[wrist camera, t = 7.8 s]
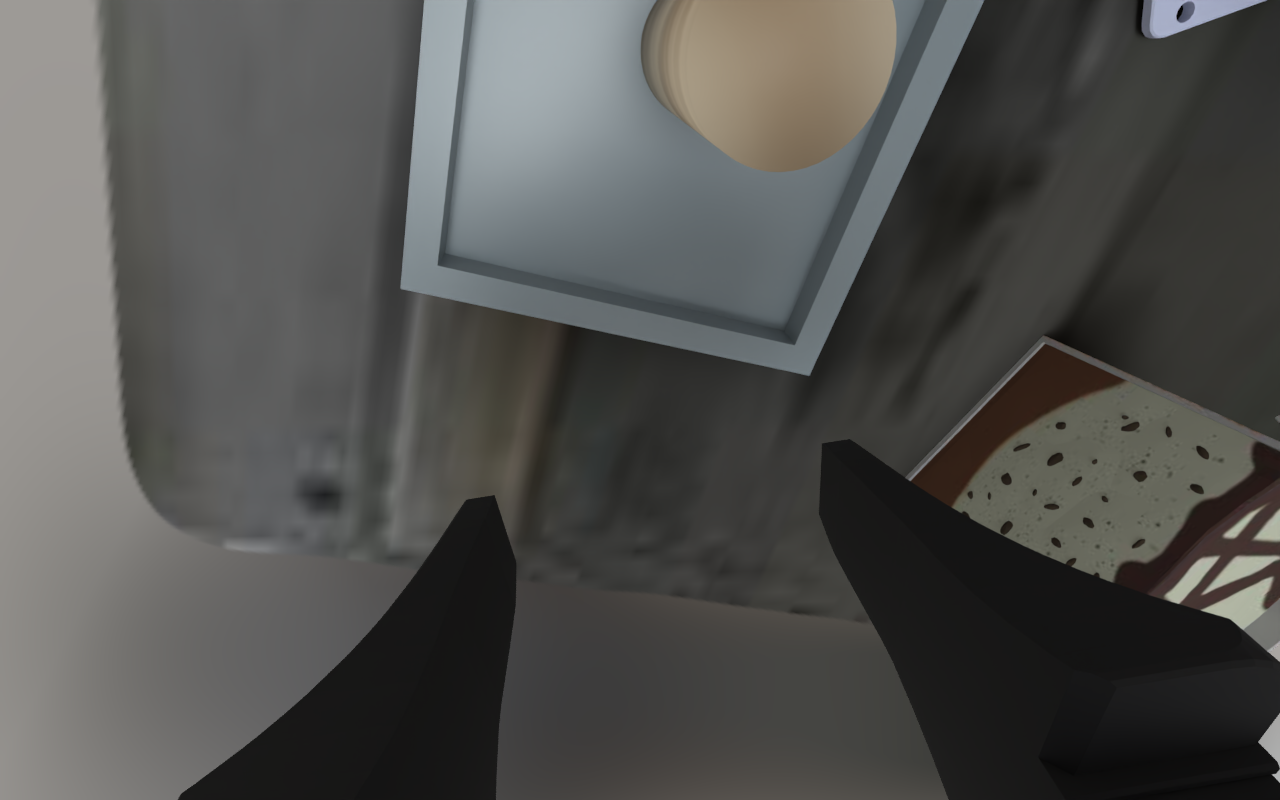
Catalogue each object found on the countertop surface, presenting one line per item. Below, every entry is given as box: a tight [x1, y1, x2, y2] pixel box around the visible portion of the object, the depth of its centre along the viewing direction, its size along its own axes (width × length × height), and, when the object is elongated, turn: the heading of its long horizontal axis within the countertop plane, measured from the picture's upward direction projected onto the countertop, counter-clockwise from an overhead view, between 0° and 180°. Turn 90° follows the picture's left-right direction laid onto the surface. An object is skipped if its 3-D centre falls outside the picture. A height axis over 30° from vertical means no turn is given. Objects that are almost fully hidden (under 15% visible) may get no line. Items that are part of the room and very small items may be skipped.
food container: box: [905, 335, 1280, 652], centre depth 22 cm, size 12×6×10 cm, turn 149°
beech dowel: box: [641, 0, 897, 172], centre depth 14 cm, size 4×4×8 cm
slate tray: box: [401, 0, 984, 376], centre depth 17 cm, size 14×14×2 cm
